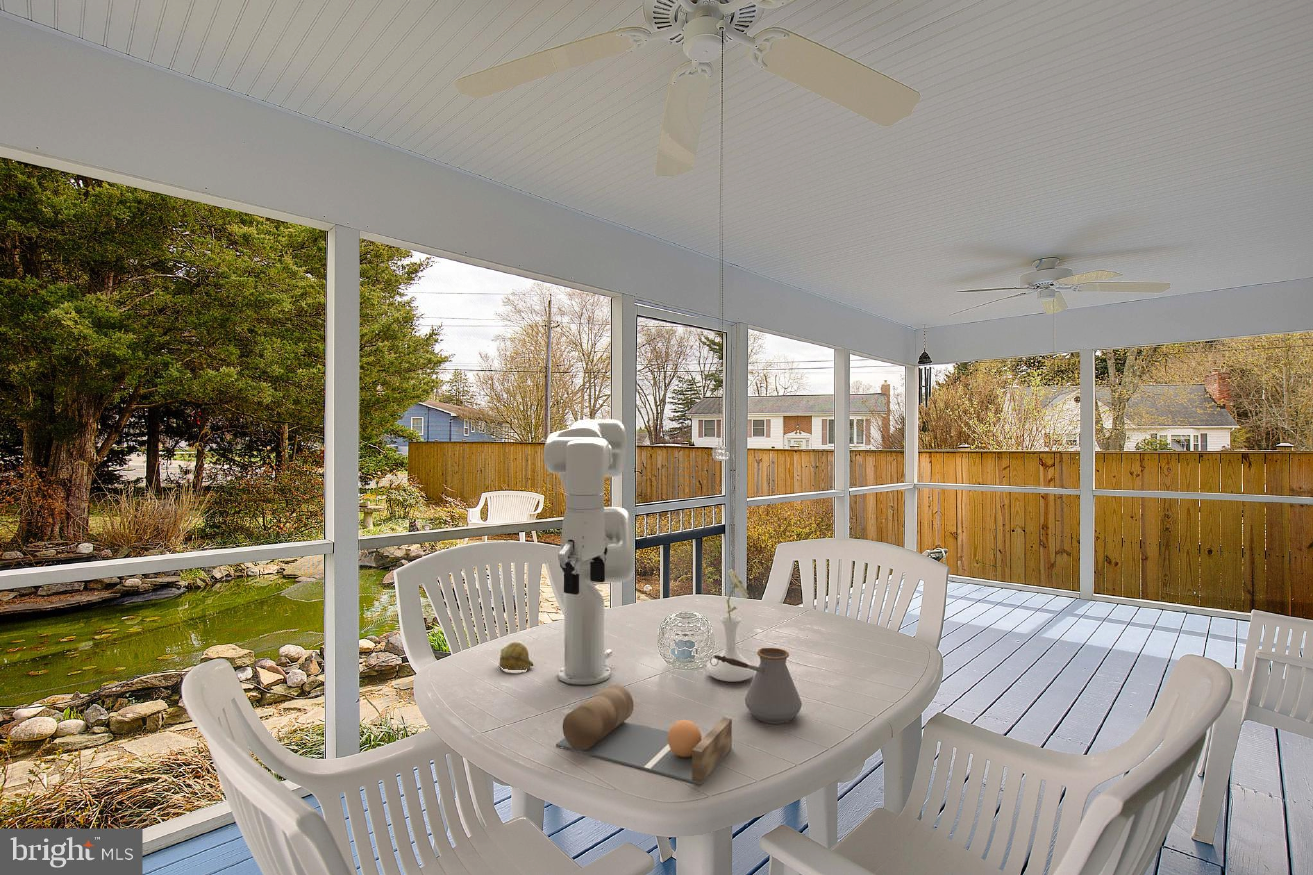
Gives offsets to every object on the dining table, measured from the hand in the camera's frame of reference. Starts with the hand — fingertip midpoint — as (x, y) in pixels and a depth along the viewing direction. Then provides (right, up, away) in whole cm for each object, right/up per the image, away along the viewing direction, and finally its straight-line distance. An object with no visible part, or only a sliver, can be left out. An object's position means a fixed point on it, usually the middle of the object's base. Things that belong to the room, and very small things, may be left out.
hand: (584, 587), depth 130 cm
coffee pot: (+34, -27, 0) cm, 43 cm away
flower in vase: (+32, -27, +25) cm, 49 cm away
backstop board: (+24, -27, -17) cm, 40 cm away
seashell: (-20, -27, +30) cm, 45 cm away
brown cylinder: (+4, -27, -7) cm, 28 cm away
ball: (+19, -23, -15) cm, 34 cm away
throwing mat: (+12, -27, -11) cm, 31 cm away
